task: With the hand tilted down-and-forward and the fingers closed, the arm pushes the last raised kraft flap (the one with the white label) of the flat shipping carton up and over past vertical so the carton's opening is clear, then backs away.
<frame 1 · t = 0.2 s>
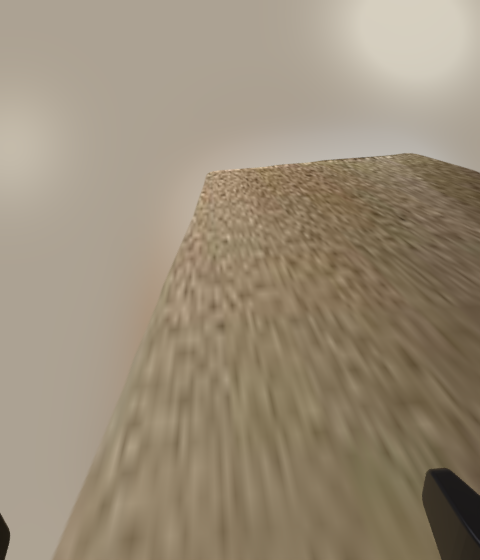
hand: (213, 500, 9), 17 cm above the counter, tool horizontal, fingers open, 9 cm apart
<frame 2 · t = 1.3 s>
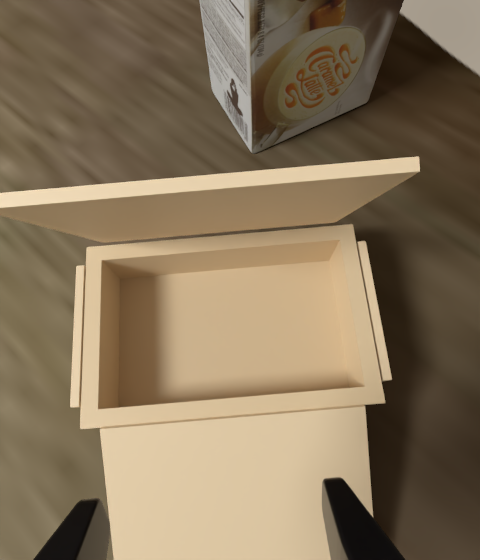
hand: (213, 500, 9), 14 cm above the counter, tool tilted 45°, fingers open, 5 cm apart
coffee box: (287, 99, 29), on the counter
carton: (229, 332, 23), on the counter
flap: (211, 211, 16), point 9 cm above the counter, hinge at 72.0°
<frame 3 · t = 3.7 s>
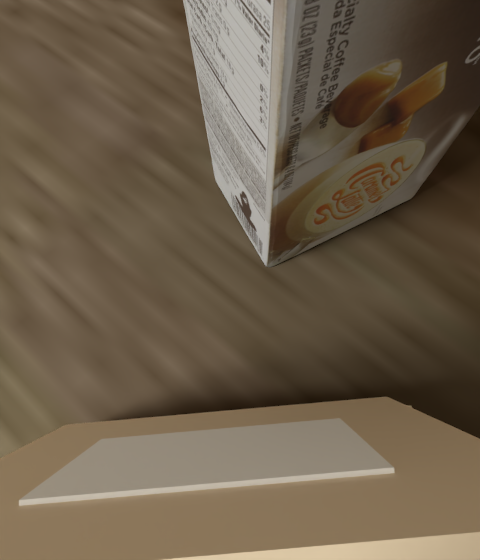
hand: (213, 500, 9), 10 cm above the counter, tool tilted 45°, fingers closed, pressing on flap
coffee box: (310, 191, 23), on the counter
flap: (217, 454, 10), point 9 cm above the counter, hinge at 79.6°, touching gripper
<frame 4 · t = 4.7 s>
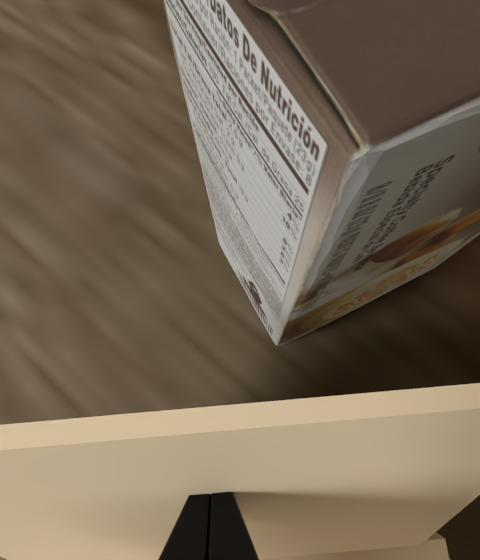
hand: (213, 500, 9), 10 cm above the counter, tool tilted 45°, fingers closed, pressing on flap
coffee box: (324, 256, 21), on the counter
flap: (220, 509, 10), point 8 cm above the counter, hinge at 117.1°, touching gripper
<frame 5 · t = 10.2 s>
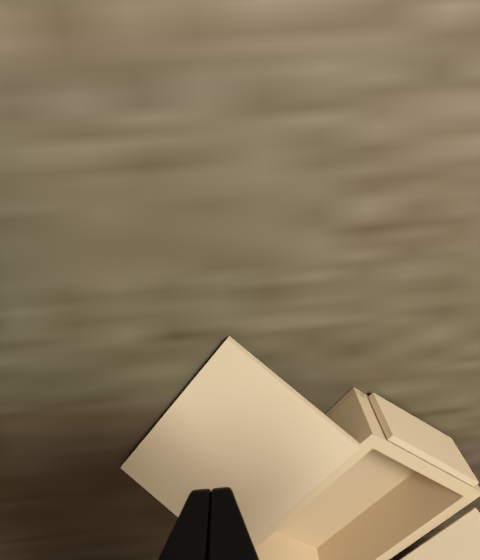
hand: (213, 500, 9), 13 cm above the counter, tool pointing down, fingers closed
carton: (332, 480, 28), on the counter
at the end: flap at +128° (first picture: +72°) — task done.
